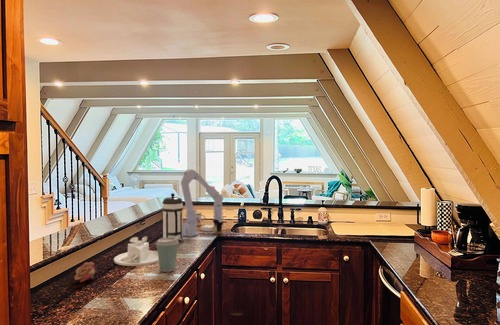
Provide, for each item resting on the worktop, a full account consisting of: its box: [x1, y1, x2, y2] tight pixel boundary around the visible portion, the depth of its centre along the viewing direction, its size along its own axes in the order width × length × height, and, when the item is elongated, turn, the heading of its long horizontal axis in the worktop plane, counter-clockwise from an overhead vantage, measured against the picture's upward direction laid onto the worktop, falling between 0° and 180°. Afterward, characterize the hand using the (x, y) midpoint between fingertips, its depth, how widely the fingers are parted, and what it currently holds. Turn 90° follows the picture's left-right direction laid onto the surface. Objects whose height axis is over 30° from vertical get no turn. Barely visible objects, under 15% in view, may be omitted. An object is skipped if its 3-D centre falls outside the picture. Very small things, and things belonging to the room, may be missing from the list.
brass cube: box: [213, 225, 223, 235], centre depth 257 cm, size 5×5×5 cm
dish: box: [113, 235, 159, 267], centre depth 196 cm, size 25×25×11 cm
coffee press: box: [162, 193, 184, 243], centre depth 232 cm, size 17×16×30 cm
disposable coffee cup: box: [155, 237, 180, 273], centre depth 177 cm, size 11×11×15 cm
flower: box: [73, 261, 97, 283], centre depth 163 cm, size 10×9×8 cm
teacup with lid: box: [194, 208, 206, 227], centre depth 285 cm, size 12×9×12 cm
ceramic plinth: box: [200, 224, 214, 232], centre depth 266 cm, size 8×8×3 cm
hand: (218, 230), depth 257 cm, fingers closed on brass cube, 5 cm apart
